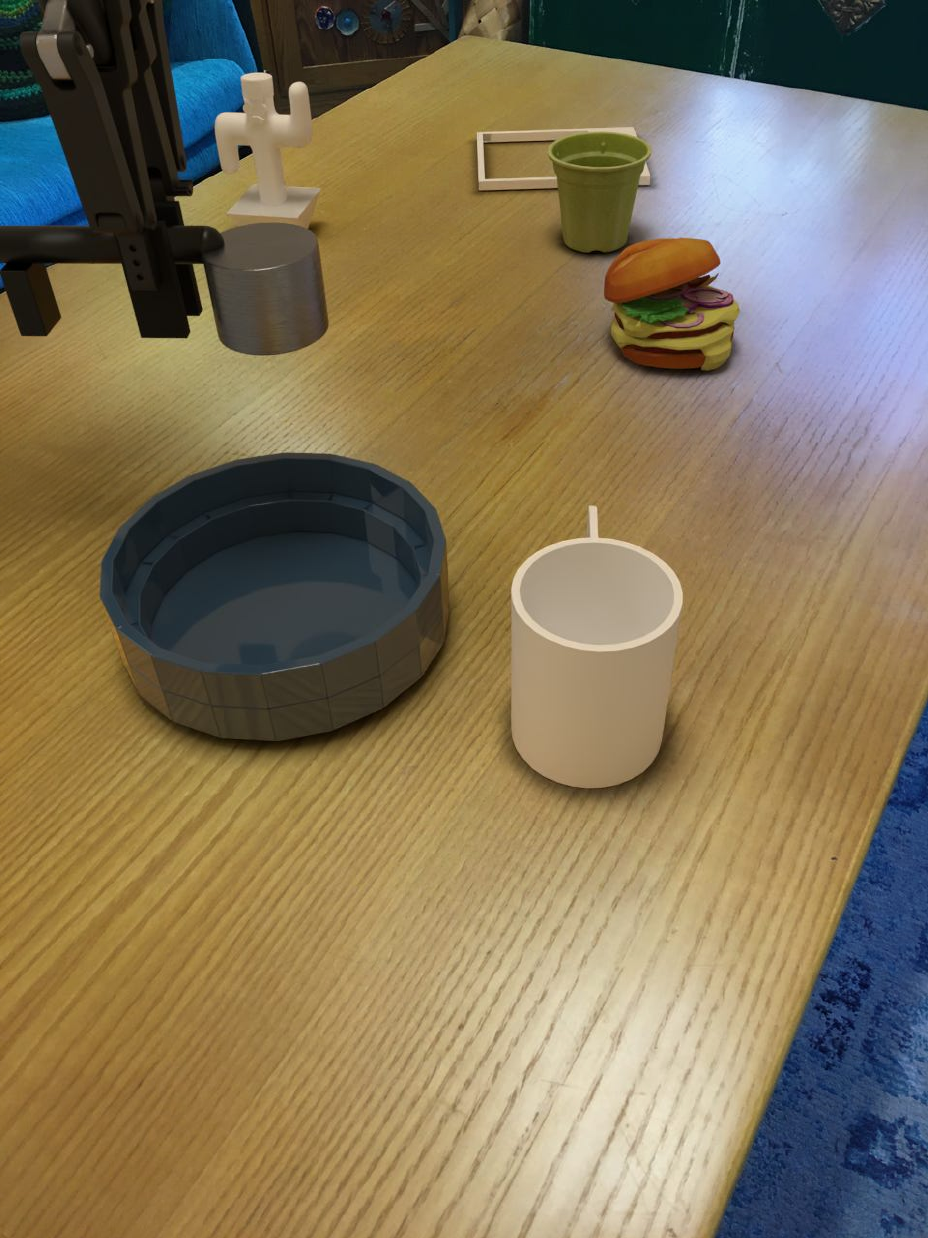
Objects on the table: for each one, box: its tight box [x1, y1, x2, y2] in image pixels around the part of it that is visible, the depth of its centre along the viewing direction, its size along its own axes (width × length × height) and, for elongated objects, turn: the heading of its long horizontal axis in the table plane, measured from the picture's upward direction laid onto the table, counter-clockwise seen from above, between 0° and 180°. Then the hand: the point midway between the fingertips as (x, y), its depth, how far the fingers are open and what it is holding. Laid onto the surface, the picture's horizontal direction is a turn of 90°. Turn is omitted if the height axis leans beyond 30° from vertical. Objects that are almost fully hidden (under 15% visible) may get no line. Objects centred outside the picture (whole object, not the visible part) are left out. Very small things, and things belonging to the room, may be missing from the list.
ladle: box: [0, 222, 330, 357], centre depth 60 cm, size 19×6×6 cm, turn 85°
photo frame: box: [476, 126, 651, 191], centre depth 117 cm, size 15×1×18 cm
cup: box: [510, 505, 684, 789], centre depth 56 cm, size 8×12×10 cm
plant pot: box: [547, 132, 652, 254], centre depth 100 cm, size 9×9×9 cm
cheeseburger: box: [603, 237, 741, 371], centre depth 85 cm, size 10×11×10 cm
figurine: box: [214, 72, 322, 229], centre depth 100 cm, size 7×9×15 cm
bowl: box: [99, 451, 451, 742], centre depth 63 cm, size 19×19×6 cm
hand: (172, 322), depth 62 cm, fingers closed on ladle, 2 cm apart
